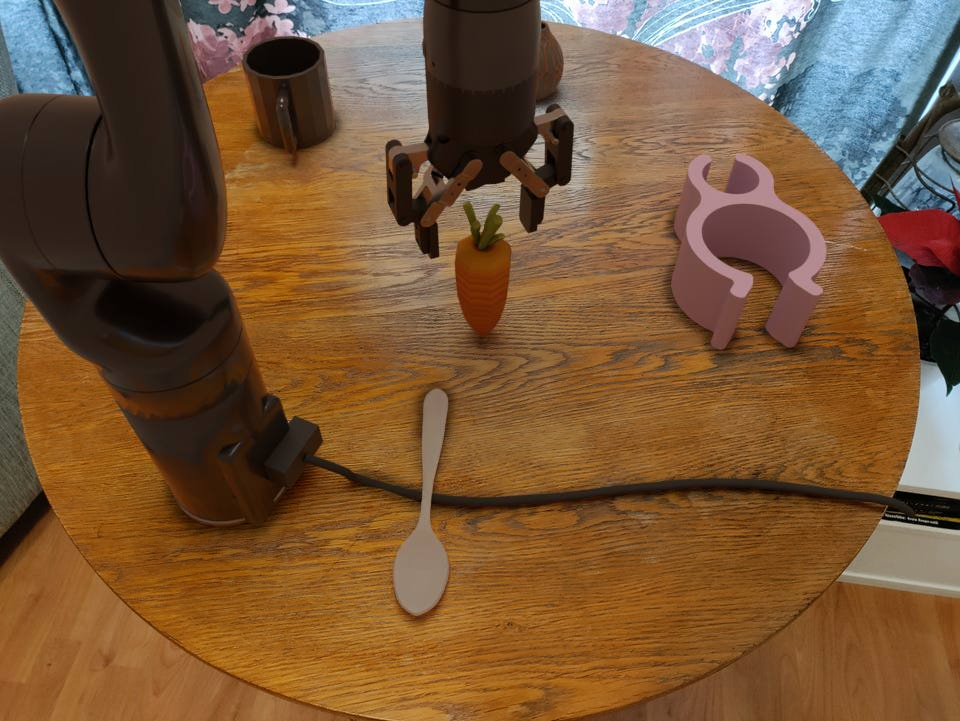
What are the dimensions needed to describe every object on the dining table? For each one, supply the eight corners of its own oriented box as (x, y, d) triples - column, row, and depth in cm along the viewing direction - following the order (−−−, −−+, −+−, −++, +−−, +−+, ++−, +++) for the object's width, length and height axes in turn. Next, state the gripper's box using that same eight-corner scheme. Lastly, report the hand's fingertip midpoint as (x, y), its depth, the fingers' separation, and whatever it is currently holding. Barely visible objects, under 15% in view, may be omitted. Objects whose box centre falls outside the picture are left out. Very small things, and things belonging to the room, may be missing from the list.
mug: (263, 107, 94) (246, 37, 88) (336, 103, 95) (325, 34, 88) (253, 169, 87) (234, 98, 80) (333, 165, 87) (321, 94, 80)
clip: (648, 208, 83) (661, 155, 77) (762, 205, 83) (782, 152, 78) (688, 350, 70) (706, 298, 65) (822, 346, 70) (851, 294, 65)
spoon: (388, 621, 54) (385, 613, 53) (413, 389, 67) (412, 377, 66) (446, 623, 54) (445, 615, 53) (460, 390, 67) (460, 379, 66)
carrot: (449, 322, 72) (444, 195, 60) (499, 310, 73) (503, 184, 61) (464, 361, 69) (462, 236, 58) (516, 348, 70) (524, 223, 58)
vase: (570, 87, 98) (577, 20, 91) (544, 113, 94) (549, 45, 87) (523, 71, 100) (527, 5, 93) (496, 96, 96) (498, 29, 89)
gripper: (395, 107, 46) (412, 293, 59) (605, 62, 49) (578, 246, 62) (360, 46, 50) (383, 231, 63) (556, 8, 54) (540, 191, 66)
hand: (480, 238), depth 63 cm, fingers open, 8 cm apart
